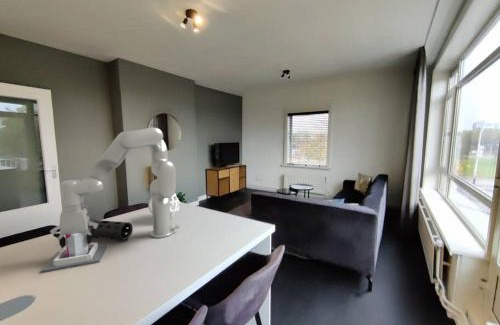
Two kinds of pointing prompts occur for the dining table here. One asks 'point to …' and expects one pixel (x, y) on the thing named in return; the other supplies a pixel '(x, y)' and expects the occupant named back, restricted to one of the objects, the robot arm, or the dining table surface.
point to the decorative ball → (174, 200)
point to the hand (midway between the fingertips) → (76, 244)
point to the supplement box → (76, 244)
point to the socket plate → (75, 258)
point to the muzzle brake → (112, 230)
